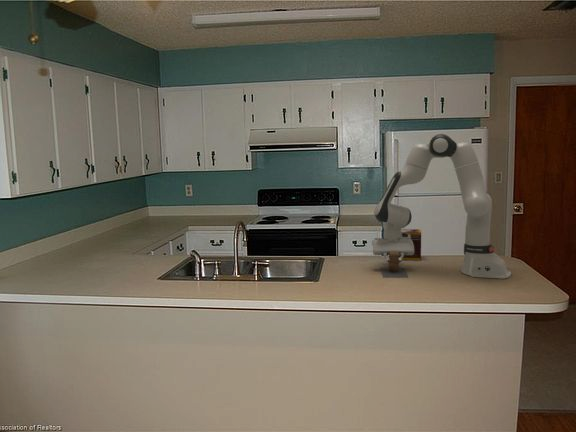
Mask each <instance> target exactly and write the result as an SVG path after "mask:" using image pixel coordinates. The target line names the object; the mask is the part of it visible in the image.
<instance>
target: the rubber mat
mask: <svg viewBox="0 0 576 432" xmlns="http://www.w3.org/2000/svg"><path fill="white" fill-rule="evenodd" d="M380 271H381V275H382V276H381V277H382V279H383V278H384V279H385V278H386V279H387V278H388V279H389V278H391V279H394V278H395V279H397V278H398V279H409V276H408V275H409V274H408V273H407V271H406V268H405V267H399V268H398V271H389V266H387V267H385V266H384V267H380Z"/></svg>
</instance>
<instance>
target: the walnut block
mask: <svg viewBox="0 0 576 432" xmlns="http://www.w3.org/2000/svg"><path fill="white" fill-rule="evenodd" d="M388 258H389V262H388V267H389V271H398V268H400V267H399V266H400V265H399V263H400V262H399V251H389V255H388Z"/></svg>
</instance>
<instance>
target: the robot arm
mask: <svg viewBox="0 0 576 432" xmlns="http://www.w3.org/2000/svg"><path fill="white" fill-rule="evenodd" d="M434 158H441V159H442V158H449V159H450V160H451V162H452V164H453V167H454V171H455V174H456V176H457V181H458V184H459V188H460V194H461V198H462V203H463V207H464V210H465V213H467V214H466V223H465V239H464V241H465V243H463V256H464V257H463V263H462V267H461V270H460V272H461V273H462V274H464V275H467V276H469V277H471V278H472V277H473V278H487V279H488V278H489V279H504V280H505V279H508V278H510V277H511V276H512V272H511V270H508V269H507V266H506V262H505V260H504V259H502V258H501V257H500V256H499V255H498V254H496V253H495V246H494V245H492V244H491V243H490V241H491V240H490V239H491V223H492V220H491V219H492V210H493V209H492V208H493V200H492V197H491V196H490V194H489V193H487V191H486V186H485V181H484V176H483V173H482V169H481V166H480V163H479V160H478V157H477V154H476V151H475V150H474V148H473V146H472V145H471V144H470V143H469V142H465V141H462V142H457V143H456V142H455V140H453V139H452V138H451V137H450V136H449V135H447V134H444V133H439V134H435V135H434V136H433V137H431V139H430V141H429V143H427V144H426V143H416V144H414V145H413V146H412V148H411V150H410V151H409V153H408V155H407V158H406V161H405V163H404V166H403V167H402V169H400V170H399V171H397V172H395V174H394V175H393V176H392V178H391V180H390V181H389V184H388V185H387V187H386V189H385V191H384V193H383V195H382V196H381V198H380V200H379V202H378V203H377V205H376V207H375V208H374V212H373V213H374V217H375V219H376V220H377V221H378V222H380V223H382V228H383V237H380V238H379V237H376V238H373V239H372V240H371V244H372V254H373V255H374V256H383V258H384V259H385V262H386V263H389V251H399V255H400V256H401V257H400V258H399V263H402V261H403V260H402V258H403V256H404V255H413V254H414V245H413V241H412V240H411V236H410V234H406V233H403V232H401V229H405V228H406V227H407V226H409V225H410V223H411V222H412V211H411V210H410V208H408V207H405V206H401V205H398V204H393V203H391V202H392V201H393V199H394V196H395V195H396V193H397V191H398V190H399V188H401V187H403V186H407V185H408V186H409V185H414V184H419V183H420V182H422V181H423V180H424V179H425V177H426V175H427V172H428V169H429V166H430V163H431V161H432V160H433V159H434Z"/></svg>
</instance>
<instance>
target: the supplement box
mask: <svg viewBox="0 0 576 432" xmlns="http://www.w3.org/2000/svg"><path fill="white" fill-rule="evenodd" d="M401 232H403V233H406V234H410V236H411V240H412V241H413V245H414V254H413V255H404V256H403V258H402V261H408V260H412V261H414V262H418V261H419V262H420V261H421V260H422V231H421V229H420V228H419V229H418V228H417V229H411V228H410V229H409V228H406V229H405V228H402V229H401ZM400 257H401V256H400V255H399V258H400Z"/></svg>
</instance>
